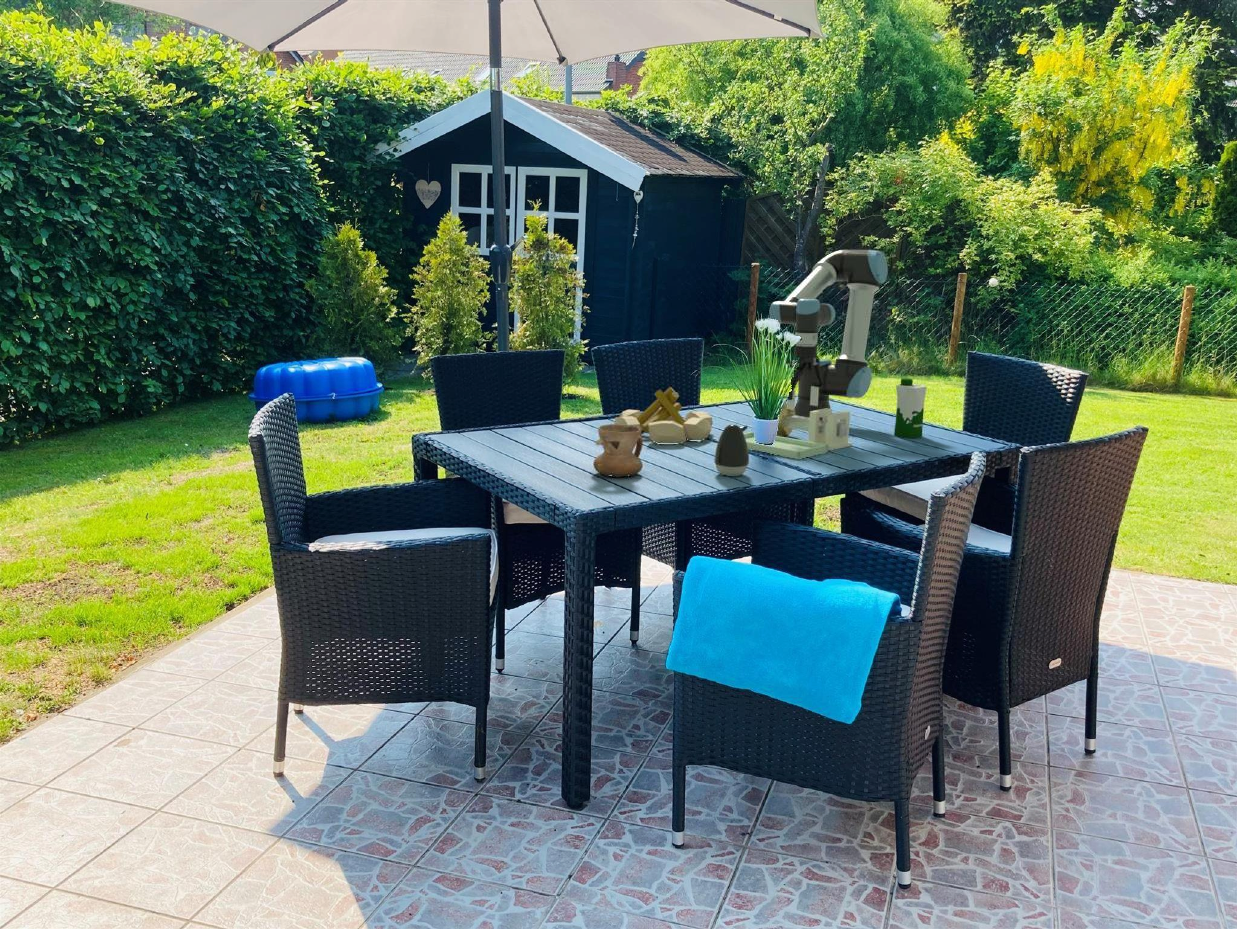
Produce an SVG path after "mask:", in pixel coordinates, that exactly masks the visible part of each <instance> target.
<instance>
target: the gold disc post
mask: <svg viewBox="0 0 1237 929" xmlns="http://www.w3.org/2000/svg"><path fill="white" fill-rule="evenodd" d="M783 403H784V405H783V408H782V410H781V412H780V416H779V423H778V431H777V436H781V437H786V438H788V437H789V436H790V435H791V433H792V432H793V430H799V431H805V432H809V421H810V418H809V417H802V416H796V415H795V410H791V409H787V402H783ZM847 427H848V424H846V423H840V421H837V431H836V436H838V437H843V436H847ZM819 433H821V434H827V420H821V419H819Z"/></svg>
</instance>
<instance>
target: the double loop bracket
mask: <svg viewBox="0 0 1237 929" xmlns="http://www.w3.org/2000/svg"><path fill="white" fill-rule="evenodd" d="M820 417H822V420H827V434H821V433H819V418H820ZM850 417H851V412H850V411H848V410H847V411H846V410H843V411H842V410H841V411H838V412H833V409H832V408H831V409H828V408H825V409H820V410H815V411H810V421H809V431H808V442H814V443H820V444H825V445H828V449H829V450H828V451H834V449H835V450H839V449H843V448H846V447H847V448H848V447H851V446H853V442H852V441H849V436H850V435H849V434H850ZM838 421H839V422H840V423H846V424H848V427H847V436H843V437H838V436H836V431H837V422H838Z"/></svg>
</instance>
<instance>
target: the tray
mask: <svg viewBox="0 0 1237 929" xmlns="http://www.w3.org/2000/svg"><path fill="white" fill-rule="evenodd" d="M754 432H755V431H748V432H743V434H744V436H745V439H746V443H747V447H748V449H752V450H759V451H762V452H767V453H770V454H769V455H772V454H774V455H773V456H777V455H780V456H779V457H784V458H788V457H789V458H788V459H793V458H795V459H794V460H798V459H800V460H802V459H801V458H804V459H807V458H806V457H808V458H811V456H812V457H814V456H813V455H816V456H819V455H818V454H820V455H823V454H824V455H825V454H827V453H826V452H829V450H828V445H825V444H820V443H814V442H808V441H809V440H808V441H806V440H801V439H797V438H792V437H791V438H790V437H781V436H775V441H774V443H773V444H772V445H764V444H759V443H756V441H755V438H754ZM752 450H751V451H752ZM762 452H761V453H762ZM767 453H766V454H767Z"/></svg>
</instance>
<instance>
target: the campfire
mask: <svg viewBox="0 0 1237 929" xmlns="http://www.w3.org/2000/svg"><path fill="white" fill-rule="evenodd" d="M654 397H656V398H657V399H656V400H654V402H652V404H650V405H649V406H648V407H647V408H646V409H645V410H644V411H643V412H641V410H638V409H626V410H624V411H622V412H621V413H620V415H619V416H617V417H616V416H615V418H614V421H613V422H614V423H613V424H626V425H634V426H637V427H639V428H640V434H639V436H641V434H642V432H644V433H647V432H648V438H649V439H650V440H651V441H652V442H654V441H655V442H657V443H680V444H682V443H685V442H686V441H687V440H686V438H687V439H688V440H703V439H705V438H706V439H707V438H708V437H709V435H710V433H711V432H712V426H713V424H714V423H713V417H712V416H711V415H709V413H707V412H705V411H703V410H701V411H700V410H699V411H698V410H697V411H689V412H688V413H687V414H685V417H684V418H683V416H682V415H681V414H680V413H679V411H681V410H682V408H683V406H682V405H681V403H680V402H677V399H678V398H679V397H680V395H679V393H678V392H676V391H675V390H674V389H673V388H672V387H671V386H669V387H668V388H667V389H666V390H665V391H664V392H663V391H662V389H658V390H656V391H655V392H654ZM706 439H705V440H706ZM703 441H704V440H703ZM655 442H654V443H655ZM681 442H682V443H681Z"/></svg>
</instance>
